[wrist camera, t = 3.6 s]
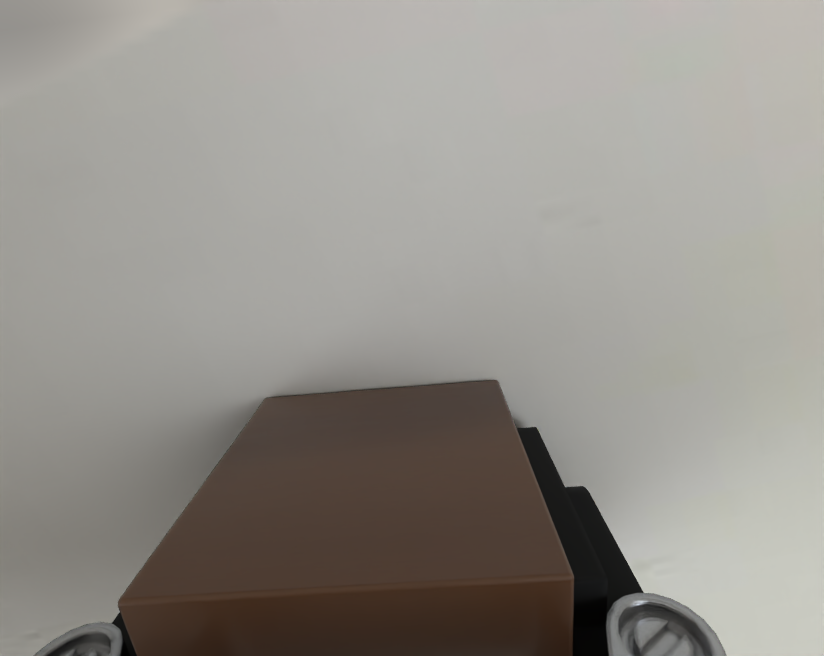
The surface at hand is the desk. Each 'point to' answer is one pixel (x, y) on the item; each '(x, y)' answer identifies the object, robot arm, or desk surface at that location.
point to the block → (363, 537)
